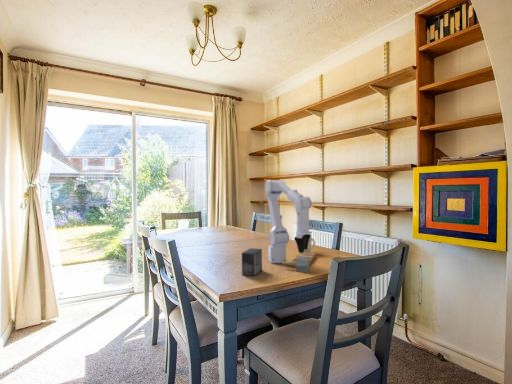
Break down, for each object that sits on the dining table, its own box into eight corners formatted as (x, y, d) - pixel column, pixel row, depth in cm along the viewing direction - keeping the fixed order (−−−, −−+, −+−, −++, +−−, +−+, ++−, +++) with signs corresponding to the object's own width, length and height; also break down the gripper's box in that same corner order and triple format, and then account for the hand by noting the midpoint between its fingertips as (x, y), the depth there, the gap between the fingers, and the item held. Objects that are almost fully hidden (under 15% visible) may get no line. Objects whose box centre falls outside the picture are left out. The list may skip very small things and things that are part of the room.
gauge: (307, 272, 135) (307, 259, 135) (281, 269, 139) (281, 257, 139) (309, 270, 138) (308, 257, 138) (284, 267, 143) (283, 255, 143)
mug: (295, 252, 174) (294, 236, 174) (309, 250, 182) (309, 234, 182) (305, 255, 168) (305, 238, 168) (319, 252, 175) (319, 236, 175)
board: (306, 267, 142) (306, 263, 142) (290, 266, 145) (290, 262, 145) (315, 256, 164) (315, 253, 164) (301, 255, 167) (301, 252, 167)
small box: (250, 269, 141) (249, 247, 141) (262, 270, 139) (262, 248, 138) (241, 275, 131) (241, 252, 131) (254, 276, 129) (254, 253, 129)
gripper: (308, 224, 129) (308, 254, 129) (314, 221, 142) (314, 248, 143) (292, 224, 132) (292, 253, 132) (300, 220, 145) (300, 247, 145)
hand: (303, 250), depth 137 cm, fingers open, 7 cm apart
